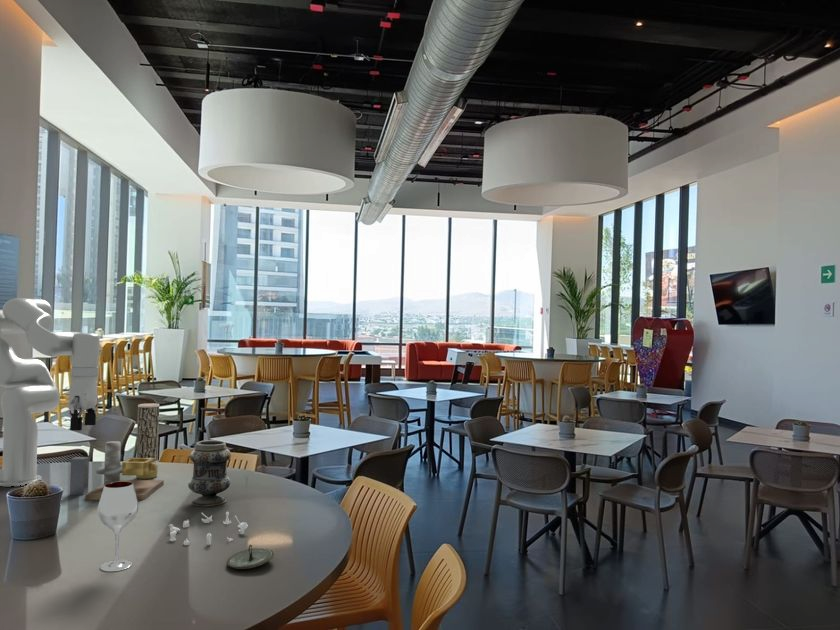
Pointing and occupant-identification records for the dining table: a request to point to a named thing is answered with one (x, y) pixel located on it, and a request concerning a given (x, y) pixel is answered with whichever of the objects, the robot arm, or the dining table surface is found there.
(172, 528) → the game piece set
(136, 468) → the board
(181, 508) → the dining table surface
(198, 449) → the apothecary jar
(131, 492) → the wineglass
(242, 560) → the lid
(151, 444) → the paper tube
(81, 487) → the grey rectangular bar
